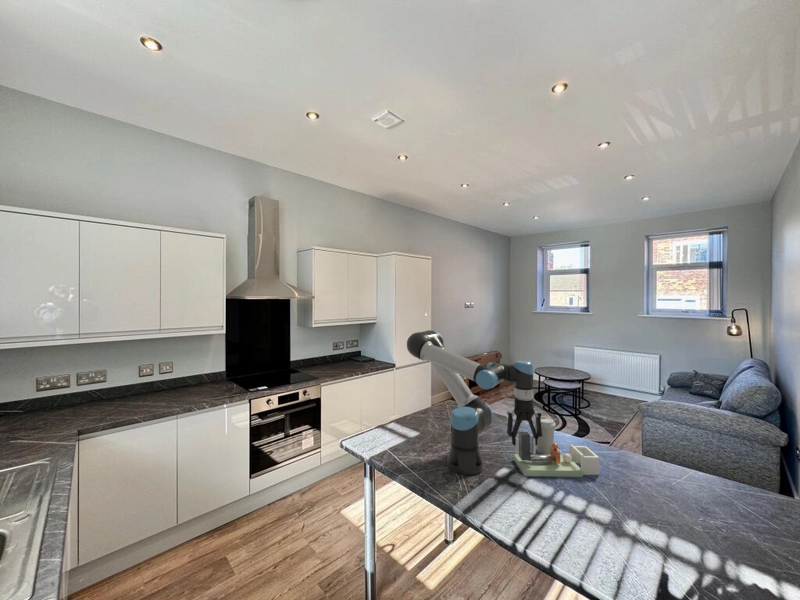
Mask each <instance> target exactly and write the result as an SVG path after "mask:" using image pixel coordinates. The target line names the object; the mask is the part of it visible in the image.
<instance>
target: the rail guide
mask: <svg viewBox="0 0 800 600" xmlns="http://www.w3.org/2000/svg"><path fill="white" fill-rule="evenodd" d="M532 464H552V461H532Z"/></svg>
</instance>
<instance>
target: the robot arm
mask: <svg viewBox="0 0 800 600" xmlns="http://www.w3.org/2000/svg"><path fill="white" fill-rule="evenodd" d="M444 342H445V341H444V338H443V336H442V334H441V333H440V332H438V331H436V330H432V329H431V330H428V329H427V330H424V331H417V332H414V333H412V334H411V335H410V336H409V337H408V338H407V340H406V348H407V351H408V353H409V354H410V355H411V356H412V357H414V358H416V359H418V360H421V361H424V362H425V361H426V362H429V363H431V365H432V366H433V367H434V369H435V371H436V373H437V374H438V376H439V377H440V378H441V381H442V382H443V383H444V385H445V386H446V388H447V389H448V391H449V393H450V394H451V395H452V397H453V399H454V400H455V402H456V404H457V407H456V408H455V409H453V410H452V411H451V413H450V418H449V423H450V449H449V452H448V455H447V457H446V465H447V468H448V469H449V470H450V471H452V472H453V473H456V474H459V475H462V476H463V475H464V476H472V475H476V474H479V473H481V472H482V471H483V468H484V460H483V457H482V455H481V452H480V449H479V435H481V434H482V432H484V431H485V430H487V429H488V428H489V427H490V425H491V424H492V423H493V422H494V421H493V420H494V412H493V409H492V408H491V406H490V405H489V404H488V403H487V402H485V401H482V400H481V399H480V397H479V396H478V395H476V394H473V392H472V391H471V389H470V388H469V386H468V385H467V384H466V382H465V380H464V379H463V378H462V377H464V378H466V379H469V380H471V381H472V382H475V383H476V384H477V385H478V387H479V388H481V389H482V390H490V389H493V388H495V387H496V386H497V385H499V384H500V383H502V382H507V383H512V384H513V385H514V393H513V394H514V408H513V410H512V411H509V410H508V411H507V412H506V414H507V417H508V418H507V430H506V434H507V435H508V437H511V444H512V445H513V452H515V453H514V454H519V437H517V436H518V433H519V429H520V426H521V424H522V422H524V421H526V422H527V423H528V425H529V428H530V431H531V433H532V435H530V448H531V453H532V454H535V455H536V446H537V439H538V438H539V437H542V429H541V416H542V413H541V412H540V411H538V410H537V411H535V410H534V408H535V407H534V404H535V403H534V368H533V366H534V365H533V363H532V361H529V360H514V362H513V364H508V363H507V364H506V363H500V362H488V363H487V365H486V366H485V365H483V364H481V363H478V362H476V361H473V360H471V359H468V358H467V357H463V356H462V355H458V354H456V353H453V352H451V351H449V350H447V349H446V347H445V343H444ZM514 416H515V422H514V423H513V421H514ZM534 416H535V417H534ZM533 417H534V419H536V428H537V433H536V430H535V426H534V423H533V421H534V420H533V419H532V418H533ZM513 424H514V425H513Z"/></svg>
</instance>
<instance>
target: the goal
mask: <svg viewBox="0 0 800 600" xmlns="http://www.w3.org/2000/svg"><path fill="white" fill-rule="evenodd" d="M569 454H570V455H571V457H572V460H573V461H574V462H575V463H576V464H580V468H581V469H582V470H583V476H584V475H586V476H587V475H588V476H589V475H590V476H594V475H595V476H600V457H599V456H598V455H597V454H596V453H595V452H594V451H592V450H591V449H590V448H589V447H587V446H586V445H585V446H584V445H581V446H580V445H579V446H578V445H577V446H575V445H573V443H570V444H569Z"/></svg>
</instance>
